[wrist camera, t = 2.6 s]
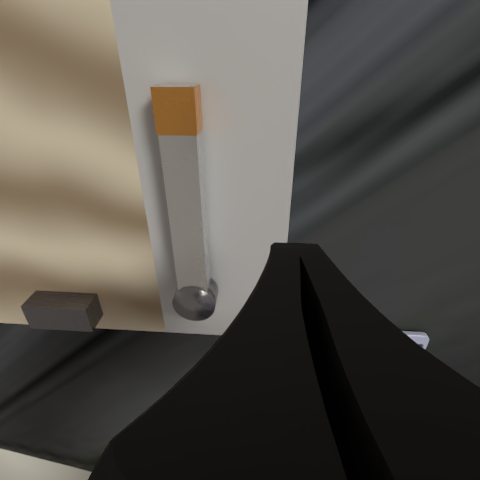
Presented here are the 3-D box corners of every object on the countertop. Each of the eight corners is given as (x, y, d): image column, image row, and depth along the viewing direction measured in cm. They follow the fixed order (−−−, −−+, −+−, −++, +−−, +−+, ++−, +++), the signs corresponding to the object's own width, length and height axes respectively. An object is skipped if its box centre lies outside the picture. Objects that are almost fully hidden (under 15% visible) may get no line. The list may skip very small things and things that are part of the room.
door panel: (171, 316, 23) (165, 332, 21) (3, 307, 24) (-12, 322, 22) (124, 0, 13) (108, -6, 12) (-150, 3, 14) (-192, -2, 13)
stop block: (103, 314, 21) (92, 332, 20) (44, 311, 21) (30, 328, 20) (97, 293, 20) (85, 310, 19) (35, 290, 20) (20, 306, 19)
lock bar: (219, 305, 20) (215, 322, 18) (180, 303, 20) (174, 319, 19) (208, 83, 13) (202, 87, 12) (152, 83, 13) (140, 86, 12)
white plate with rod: (278, 321, 22) (278, 338, 21) (171, 316, 23) (165, 332, 21) (304, -3, 13) (308, -8, 12) (124, 0, 13) (108, -6, 12)
